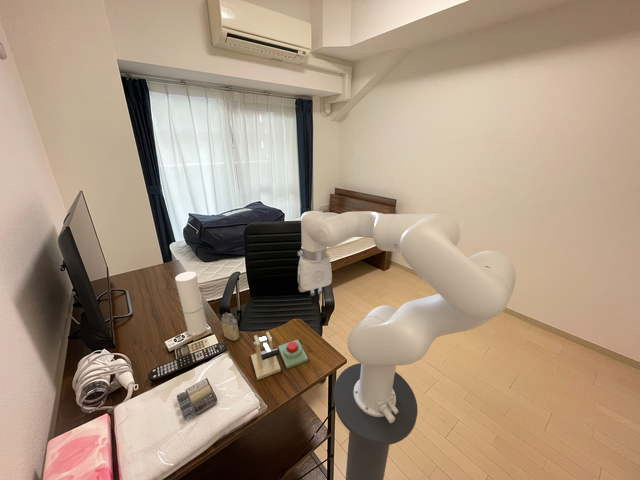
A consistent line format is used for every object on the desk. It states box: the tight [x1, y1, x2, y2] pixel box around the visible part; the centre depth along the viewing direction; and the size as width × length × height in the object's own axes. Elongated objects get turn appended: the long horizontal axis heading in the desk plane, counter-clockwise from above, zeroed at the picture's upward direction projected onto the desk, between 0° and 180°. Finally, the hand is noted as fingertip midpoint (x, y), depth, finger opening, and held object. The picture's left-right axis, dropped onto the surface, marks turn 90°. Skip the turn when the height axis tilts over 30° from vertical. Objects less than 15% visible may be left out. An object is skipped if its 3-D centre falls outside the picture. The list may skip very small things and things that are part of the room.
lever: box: [258, 335, 280, 360], centre depth 80 cm, size 12×5×2 cm, turn 25°
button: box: [287, 341, 297, 353], centre depth 90 cm, size 4×4×2 cm
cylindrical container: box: [174, 271, 208, 336], centre depth 99 cm, size 7×7×25 cm
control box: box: [277, 339, 309, 369], centre depth 91 cm, size 10×8×3 cm
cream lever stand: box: [250, 331, 282, 381], centre depth 85 cm, size 10×8×12 cm
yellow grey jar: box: [221, 312, 240, 342], centre depth 98 cm, size 7×4×10 cm, turn 61°
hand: (314, 303), depth 82 cm, fingers closed
